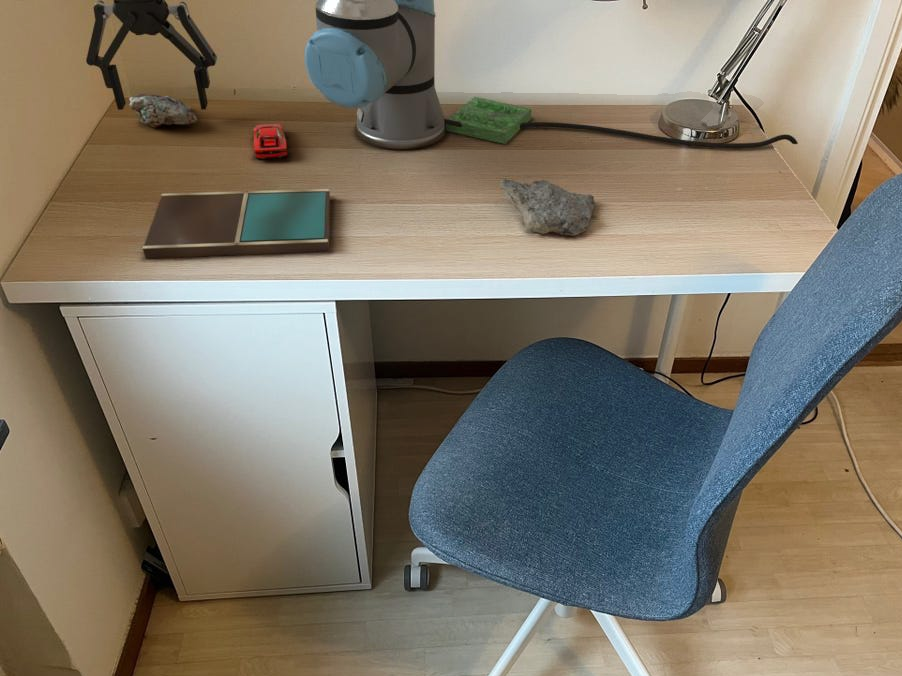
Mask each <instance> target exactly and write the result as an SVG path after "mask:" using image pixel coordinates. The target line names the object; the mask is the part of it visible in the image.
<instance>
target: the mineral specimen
mask: <svg viewBox="0 0 902 676" xmlns="http://www.w3.org/2000/svg"><path fill="white" fill-rule="evenodd" d="M128 99H129V102H130V103H128V104H129V107H130V109H131V110H132V111H135V114H136V116H137V117H138V118H139V120H140V121H139V122H140V123H142V124H145V125H146V126H149V127H150V128H151V127H152V128H157V127H159V126H162V125H169V126H170V125H173V124H174V125H190V124H196V123H197V120H198V116H197V115H196V114H195V113H194V111H191V107H190V106H187V105H186V104H185V101H182V100H181V99H178V98H177V99H176V98H174V97H171V96H170V95H166V96H163V95H159V94H146V93H139V94H137V95H136V96H130V97H129V98H128Z"/></svg>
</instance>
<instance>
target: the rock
mask: <svg viewBox="0 0 902 676" xmlns="http://www.w3.org/2000/svg"><path fill="white" fill-rule="evenodd" d="M499 184H500V188H501V189H502V190H504V191H505V193H504V196H505V198H507V200H508V202H510V203H511V204H512V205H513V206H514V207H515V208H516V209H517V210H519V212H520V213H521V215H522V217H523V223H524V226H525V227H526V228H527V230H529V231H530V232H534V233H539V234H542V235H544V234H548V233H557V234H559V235H565V236H573V237H574V236H577V235H579V234H581V233H584V232H585V231H587V230H588V228H589V227H590V222H591V219H592V214H593V211H594V209H595V207H596V204H595V200H594V199H595V197H594V196H593V195H592V194H590V193H589V194H586V195H585V194H583V193H576V192H571V191H569V190H565V189H564V188H563V187H560V186H559V185H558V184H557V185H556V184H553V183H551V182H549V181H548V180H545V179H542V180H534V181H532V183H521V182H518V181H515V180H513V179H507V178H503V179H502V180H501V182H500V183H499Z"/></svg>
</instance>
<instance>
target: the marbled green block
mask: <svg viewBox="0 0 902 676" xmlns="http://www.w3.org/2000/svg"><path fill="white" fill-rule="evenodd" d="M447 119H449V120H453V121H458V122H462V123H461V124H462V127H457V126H453V125H448V124H445V132H450V133H454V134H459V135H463V136H467V137H472V138H476V139H481V140H485V141H490V142H493V143H498V144H502V145H506V144H507V143H508V142H509V141H510V140H511V139H512V138H513V137H515V135H516V134H517V133H519V131H521V129H522V128H520V124H521V123H529V122H530V121H531V119H532V108H531V107H525V106H522V105H516V104H513V103H507V102H502V101H497V100H494V99H493V100H492V99H487V98H483V97H479V96H474V97H472V99H470V100H469V101H467V103H465V104H464V105H463V106H461V107H460V108H459V109H458V110H456V111H455V112H453V114H451V115H450V116H449V117H447Z"/></svg>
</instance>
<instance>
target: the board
mask: <svg viewBox="0 0 902 676" xmlns="http://www.w3.org/2000/svg"><path fill="white" fill-rule="evenodd" d="M160 196H161V197H160V199H159V202H158V204H157V208H156V210H155V214H154V217H153V219H152V222H151V224H150V228H149V230H148V233H147V235H146V239H145V241H144V244H143V246H142V251H143V254H144V258H145V259H167V258H198V257H220V256H251V255H275V254H299V253H324V252H325V253H329V252H330V227H331V226H330V221H331V220H330V219H331V193H330V188H315V189H309V188H308V189H279V190H278V189H275V190H245V191H243V190H242V191H239V190H238V191H213V192H212V191H211V192H209V191H206V192H174V193H172V192H171V193H161V194H160Z"/></svg>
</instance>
